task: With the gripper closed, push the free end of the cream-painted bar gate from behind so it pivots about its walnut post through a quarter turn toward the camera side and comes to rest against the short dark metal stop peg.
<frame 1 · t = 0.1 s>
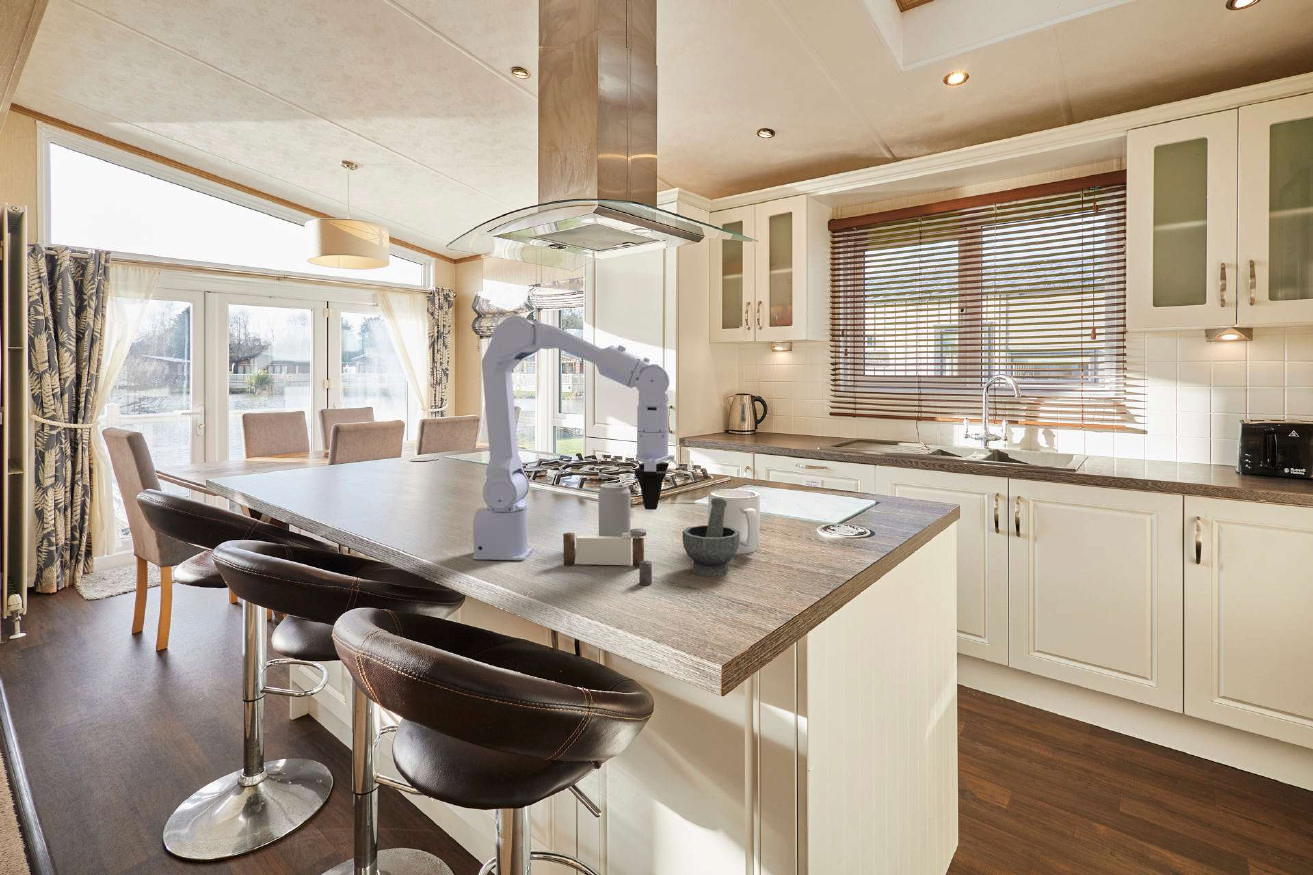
hand: (652, 504, 117), 10 cm above the countertop, fingers open, 7 cm apart
posts: (638, 565, 113), on the countertop
beverage can: (614, 544, 128), on the countertop
mug: (734, 549, 125), on the countertop
gate: (611, 546, 113), point 3 cm above the countertop, hinge at 0.0°
mortar and pestle: (711, 570, 111), on the countertop
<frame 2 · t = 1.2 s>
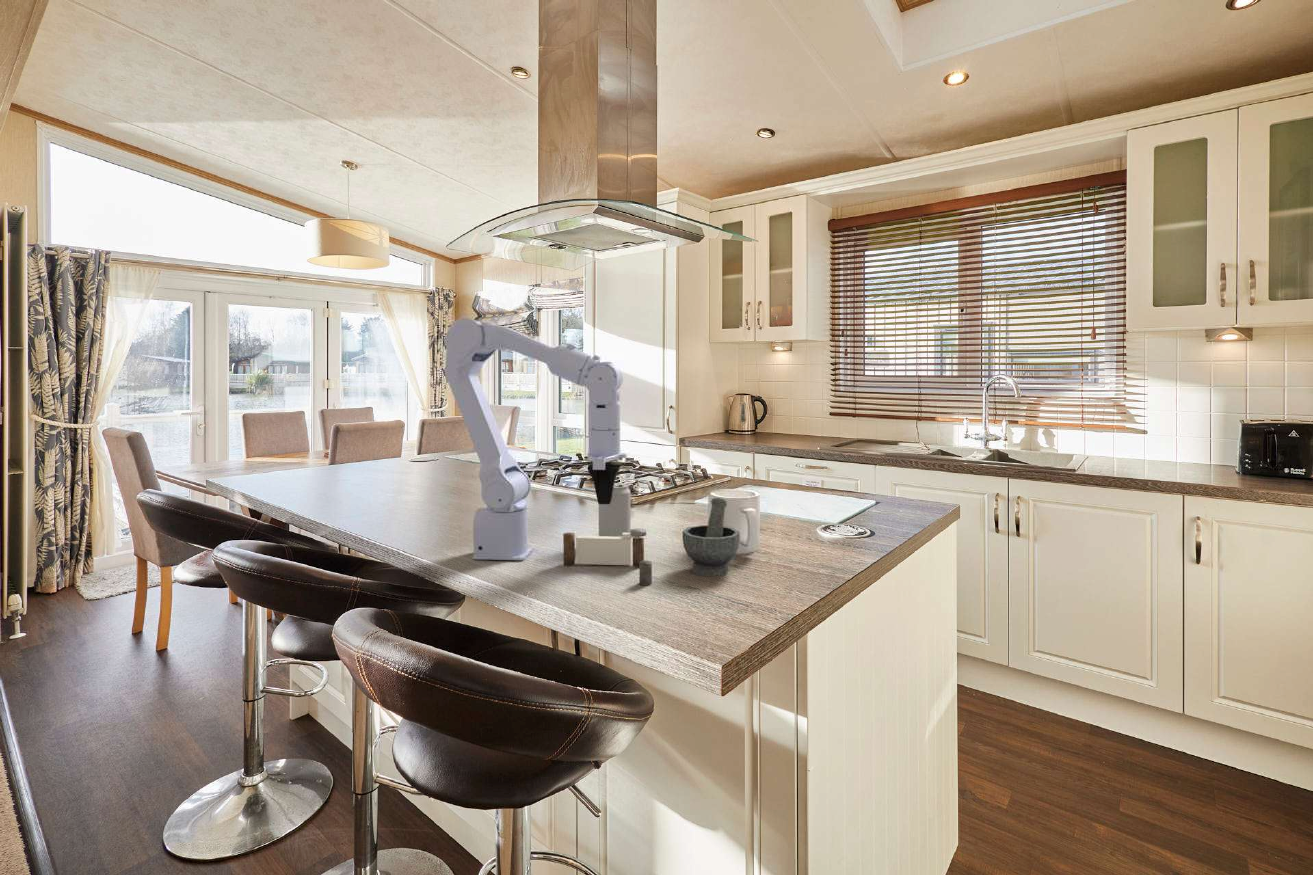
hand: (604, 503, 116), 10 cm above the countertop, fingers closed
nothing on the countertop moved.
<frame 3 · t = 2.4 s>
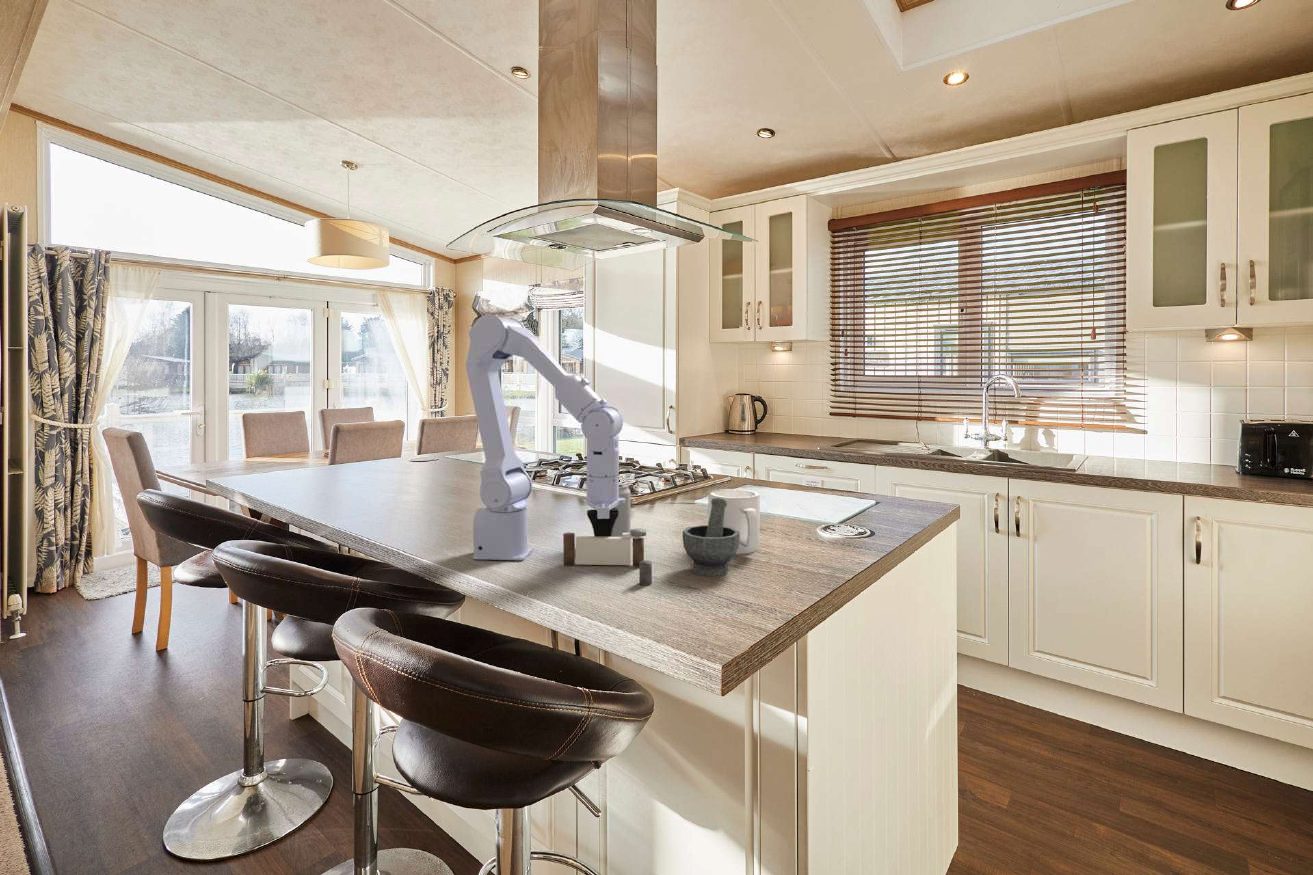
hand: (602, 549, 115), 2 cm above the countertop, fingers closed, pressing on gate
gate: (611, 546, 113), point 3 cm above the countertop, hinge at 1.3°, touching gripper
everything else where it was.
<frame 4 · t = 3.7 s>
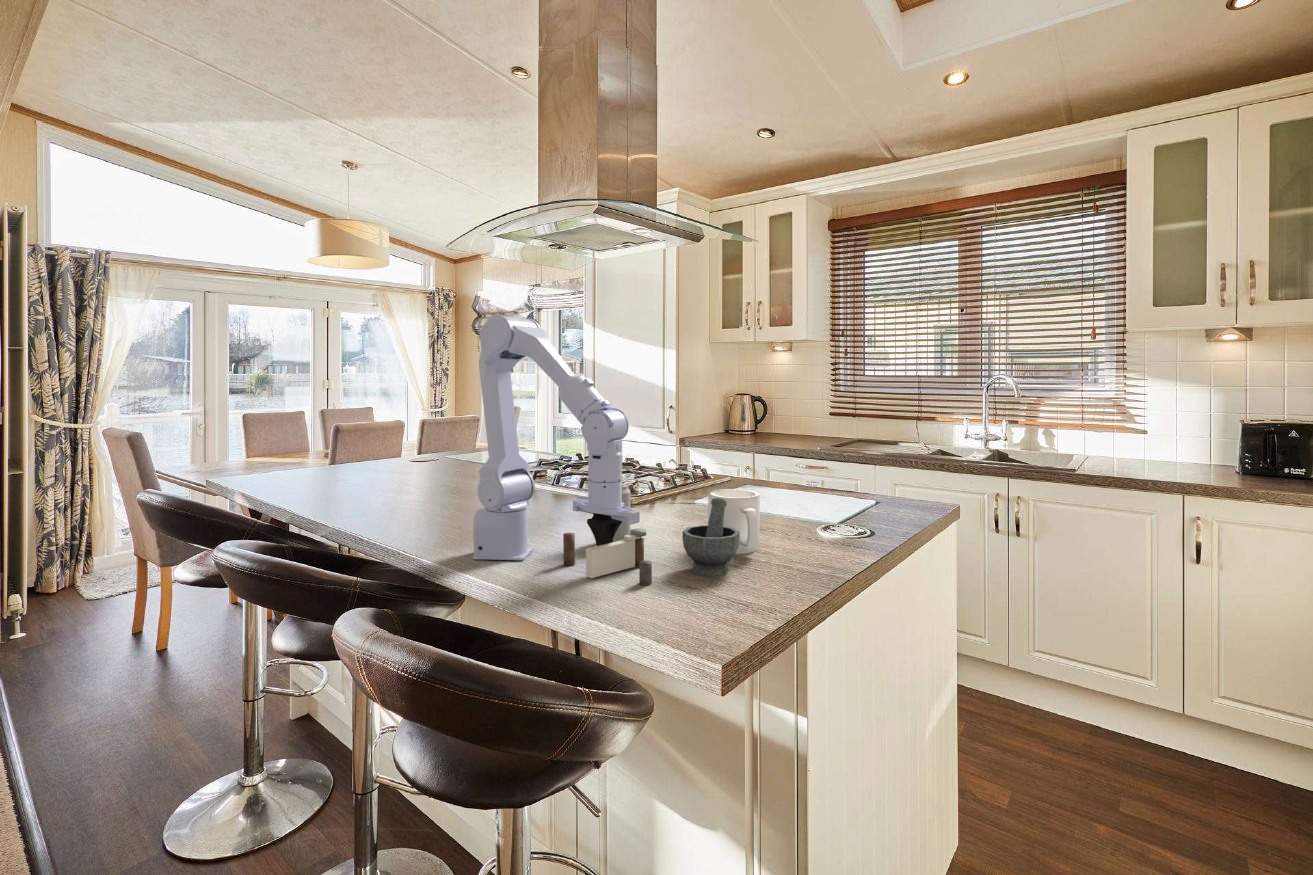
hand: (604, 558, 109), 2 cm above the countertop, fingers closed, pressing on gate
gate: (617, 552, 109), point 3 cm above the countertop, hinge at 46.5°, touching gripper
everything else where it was.
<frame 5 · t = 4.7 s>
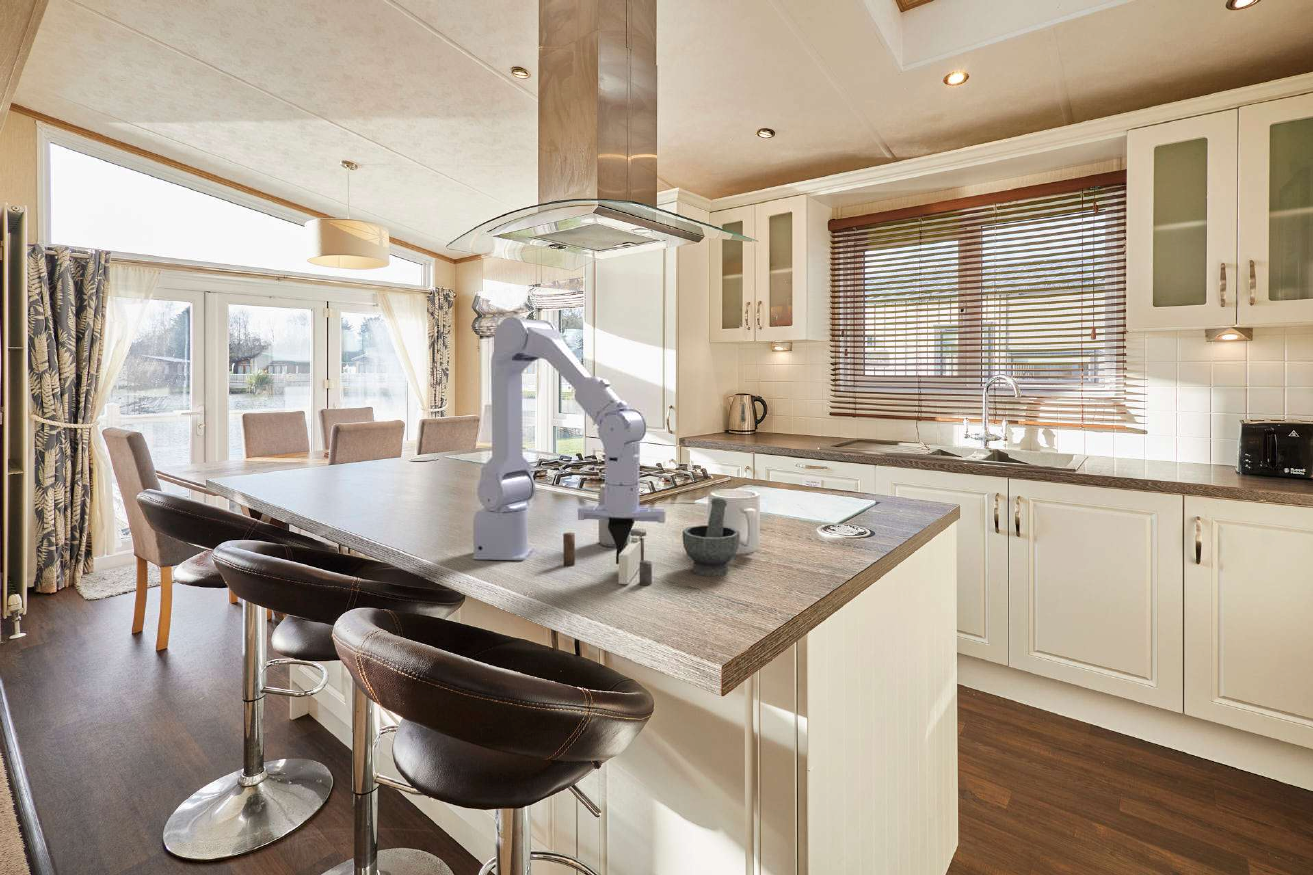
hand: (621, 562, 107), 2 cm above the countertop, fingers closed, pressing on gate
gate: (632, 554, 108), point 3 cm above the countertop, hinge at 82.1°, touching gripper
everything else where it was.
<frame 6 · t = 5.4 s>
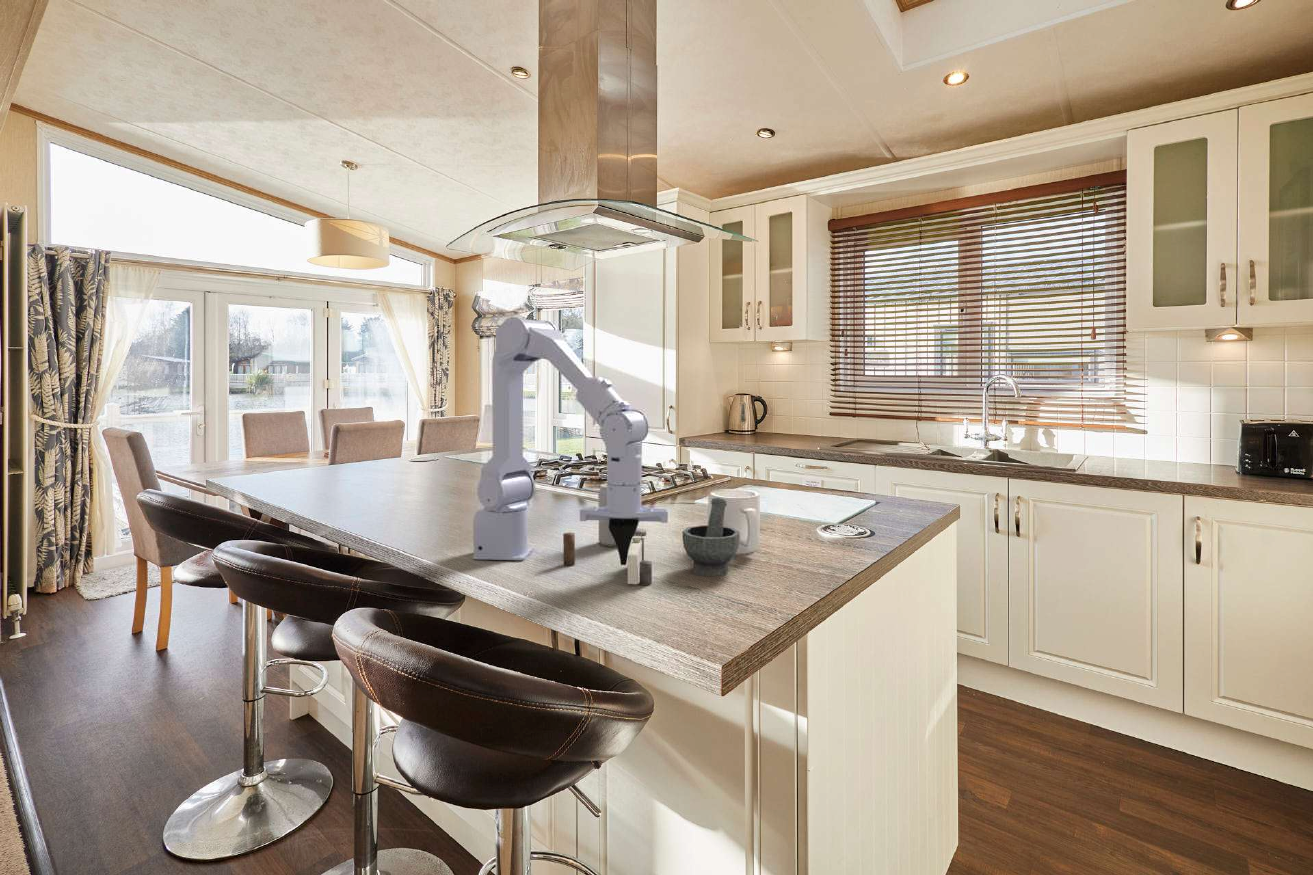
hand: (623, 563, 106), 2 cm above the countertop, fingers closed
gate: (635, 554, 108), point 3 cm above the countertop, hinge at 89.8°, touching gripper
everything else where it was.
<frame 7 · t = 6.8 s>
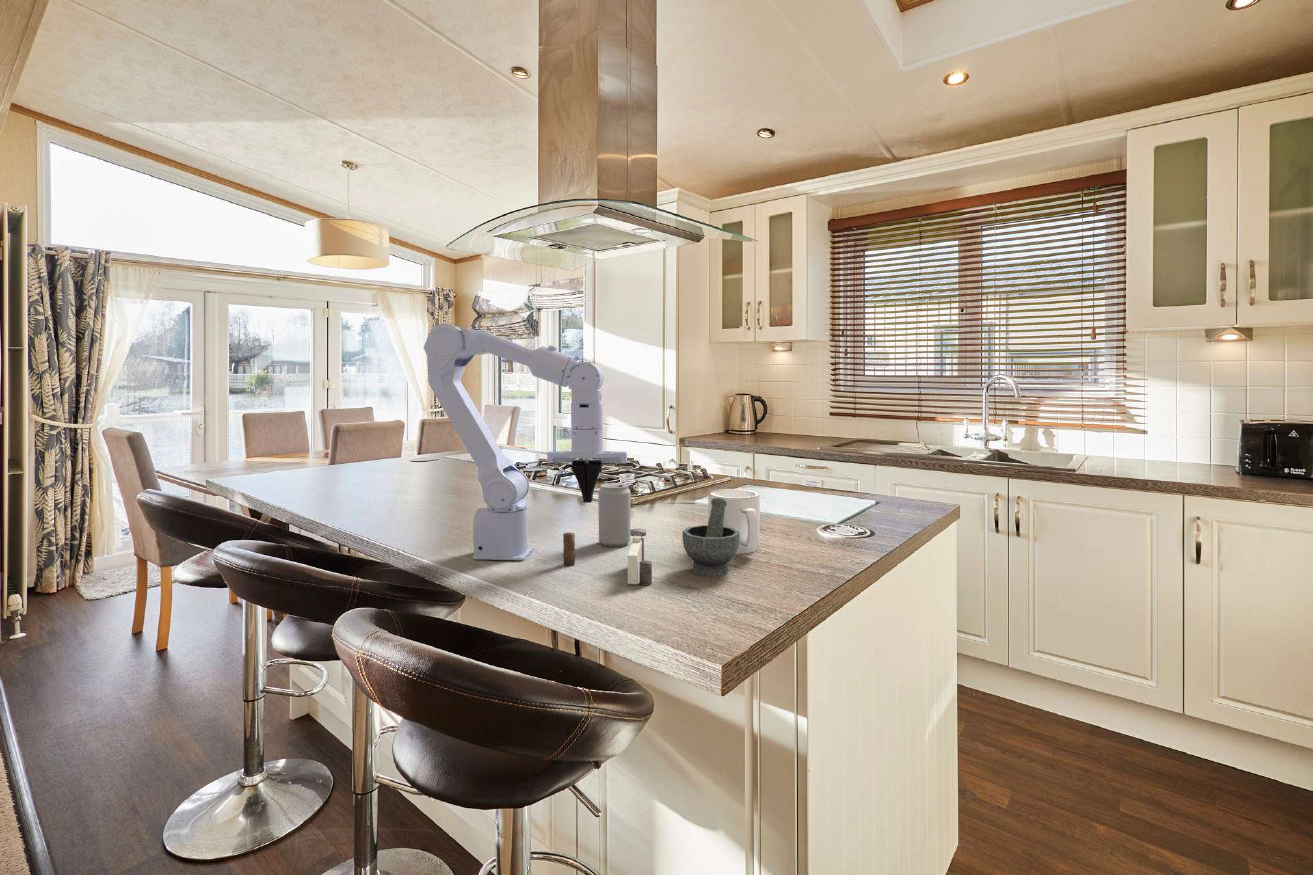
hand: (587, 501, 118), 10 cm above the countertop, fingers closed
gate: (635, 554, 108), point 3 cm above the countertop, hinge at 89.9°
everything else where it was.
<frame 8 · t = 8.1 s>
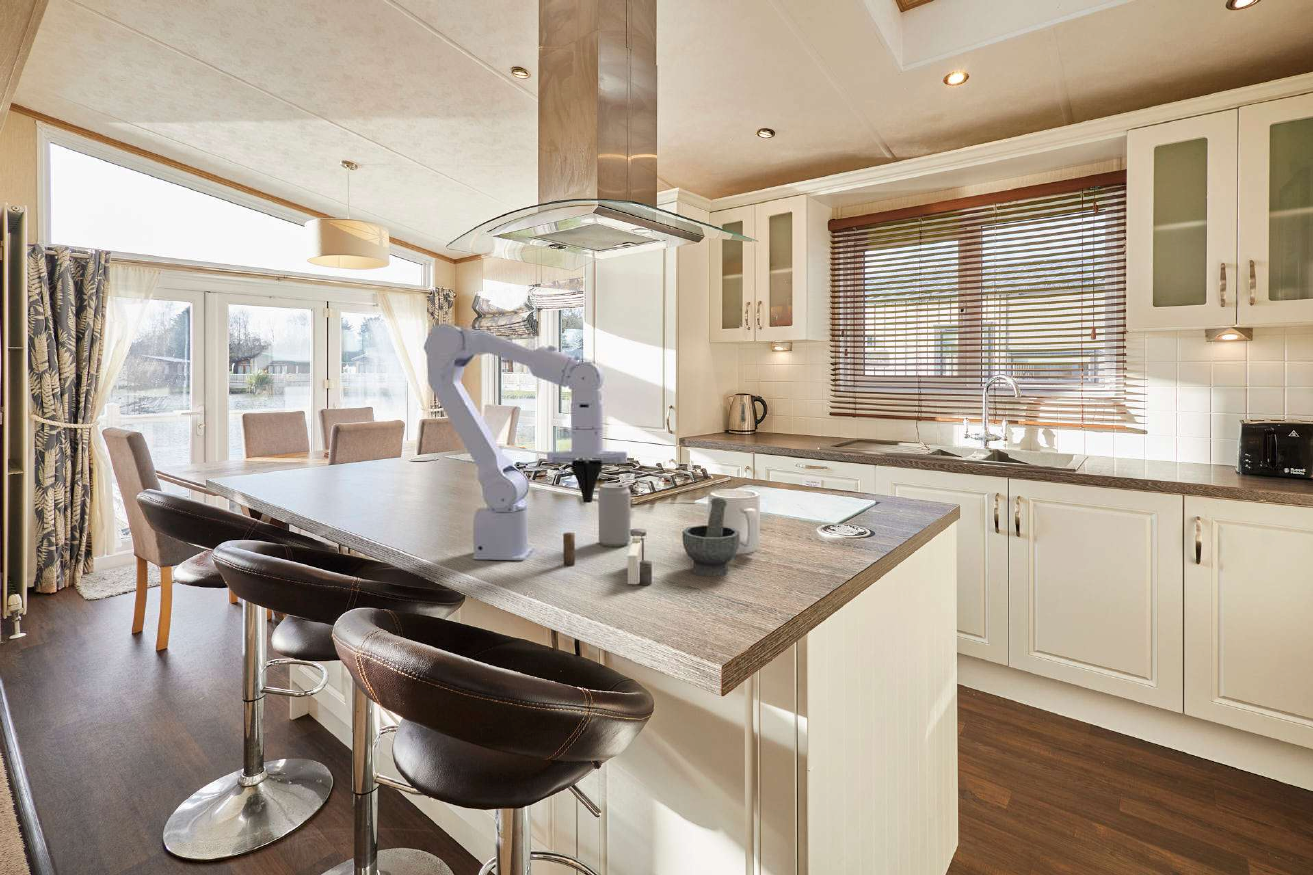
hand: (587, 501, 118), 10 cm above the countertop, fingers closed
nothing on the countertop moved.
at the end: gate at +90° (first picture: +0°); beverage can moved 0.2 cm from its start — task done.
